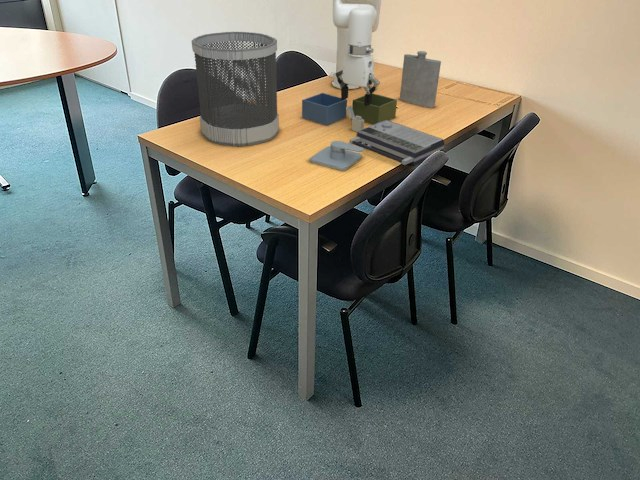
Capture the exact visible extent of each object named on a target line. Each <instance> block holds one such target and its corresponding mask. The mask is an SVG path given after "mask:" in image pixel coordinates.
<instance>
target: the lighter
mask: <svg viewBox="0 0 640 480" xmlns="http://www.w3.org/2000/svg"><path fill="white" fill-rule="evenodd" d="M346 111H347V113H346V115H347V117H348V119H349V120H351V131H353V132H356V133H357V132H359V130H360V129H363V128H365V122H364V120H363V119H362V118H361V116H354V112H353V109H352V105H349V106H348V105H347V107H346Z"/></svg>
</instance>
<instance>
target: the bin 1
mask: <svg viewBox="0 0 640 480" xmlns="http://www.w3.org/2000/svg"><path fill="white" fill-rule="evenodd" d="M346 107H348V98H347V99H344V100H341V96H335V95H332V94H330V93H325V92H321V93H318V94H315V95H311V96H309V97H306V98H304V99H301V118H302V119H303V120H307V121H310V122H313V123H315V124H316V123H317V124H320V125H323V126H326V127H327V126H330V125H332V124H334V123H337V122H339V121H341V120H345V119H346V118H347V111H346Z"/></svg>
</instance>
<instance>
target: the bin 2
mask: <svg viewBox="0 0 640 480" xmlns="http://www.w3.org/2000/svg"><path fill="white" fill-rule="evenodd" d="M364 100H365V94H364V95H362V96H359V97H356V98H354V99H352V105H351V106H352V109H353V112H354V116H361V118H362V119H363V120H364V123H367V124H371V125H374V124H377V123H380V122H382V121H385V120H389V121H392V120H393V119H395V118H396V114H397V103H398V99H397V98H392V97H388V96H384V95H381V94H377V93H372V102H371V104H370V105H368V106H365V105H364Z"/></svg>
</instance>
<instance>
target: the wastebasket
mask: <svg viewBox="0 0 640 480" xmlns="http://www.w3.org/2000/svg"><path fill="white" fill-rule="evenodd" d="M191 48H192V49H191V50H192V52H193V54H194V61H195V73H196V82H197V91H198V93H197V94H198V99H199V100H198V101H199V111H200V115H199V122H200V123H199V124H200V125H199V126H200V134H201V136H202V137H203V138H204V139H206V140H207V141H208V142H211V143H212V144H215V145H220V146H227V147H246V146H247V147H249V146H254V145H259V144H264V143H266V142H270V141H272V140H274V139H275V138H276V137H277V135H278V134H279V132H280V120H279V119H280V118H279V117H280V116H279V115H280V114H279V113H278V89H277V88H278V87H277V84H278V83H277V51H278V40H277V39H276V38H275V37H273V36H270V35H268V34H265V33H260V32H252V31H251V32H250V31H222V32H212V33H211V32H210V33H206V34H202V35H199V36H196V37H195V38H192V40H191Z"/></svg>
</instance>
